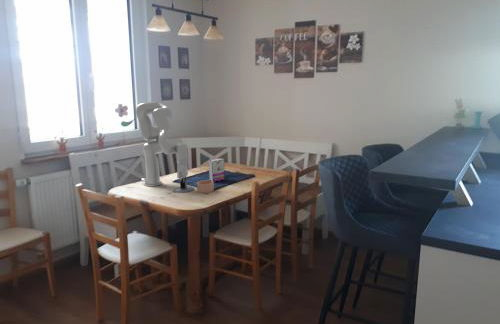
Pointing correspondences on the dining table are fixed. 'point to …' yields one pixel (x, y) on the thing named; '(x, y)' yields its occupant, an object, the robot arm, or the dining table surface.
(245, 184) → the dining table surface
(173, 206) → the dining table surface
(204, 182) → the bowl
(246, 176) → the dining table surface
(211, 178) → the candy bar box
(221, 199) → the dining table surface
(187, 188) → the lid
